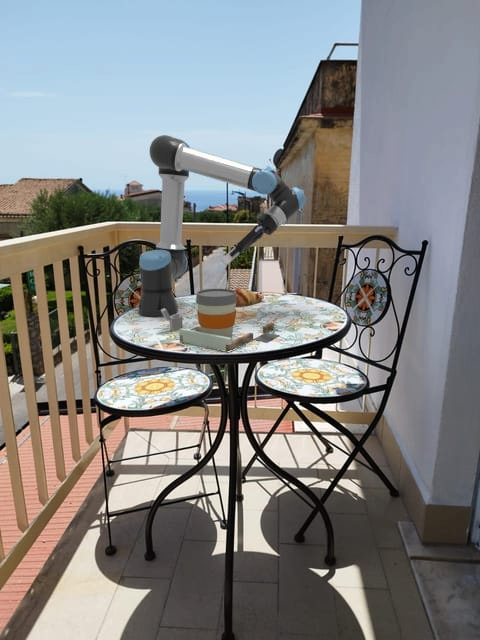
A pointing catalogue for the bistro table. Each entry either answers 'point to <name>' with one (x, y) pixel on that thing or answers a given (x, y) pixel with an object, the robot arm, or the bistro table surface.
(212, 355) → the bistro table surface
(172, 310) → the robot arm
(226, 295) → the reusable coffee cup
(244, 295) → the croissant
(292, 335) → the bistro table surface
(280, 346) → the bistro table surface
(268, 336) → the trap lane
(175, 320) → the lighter
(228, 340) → the pale grey board
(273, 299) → the bistro table surface
